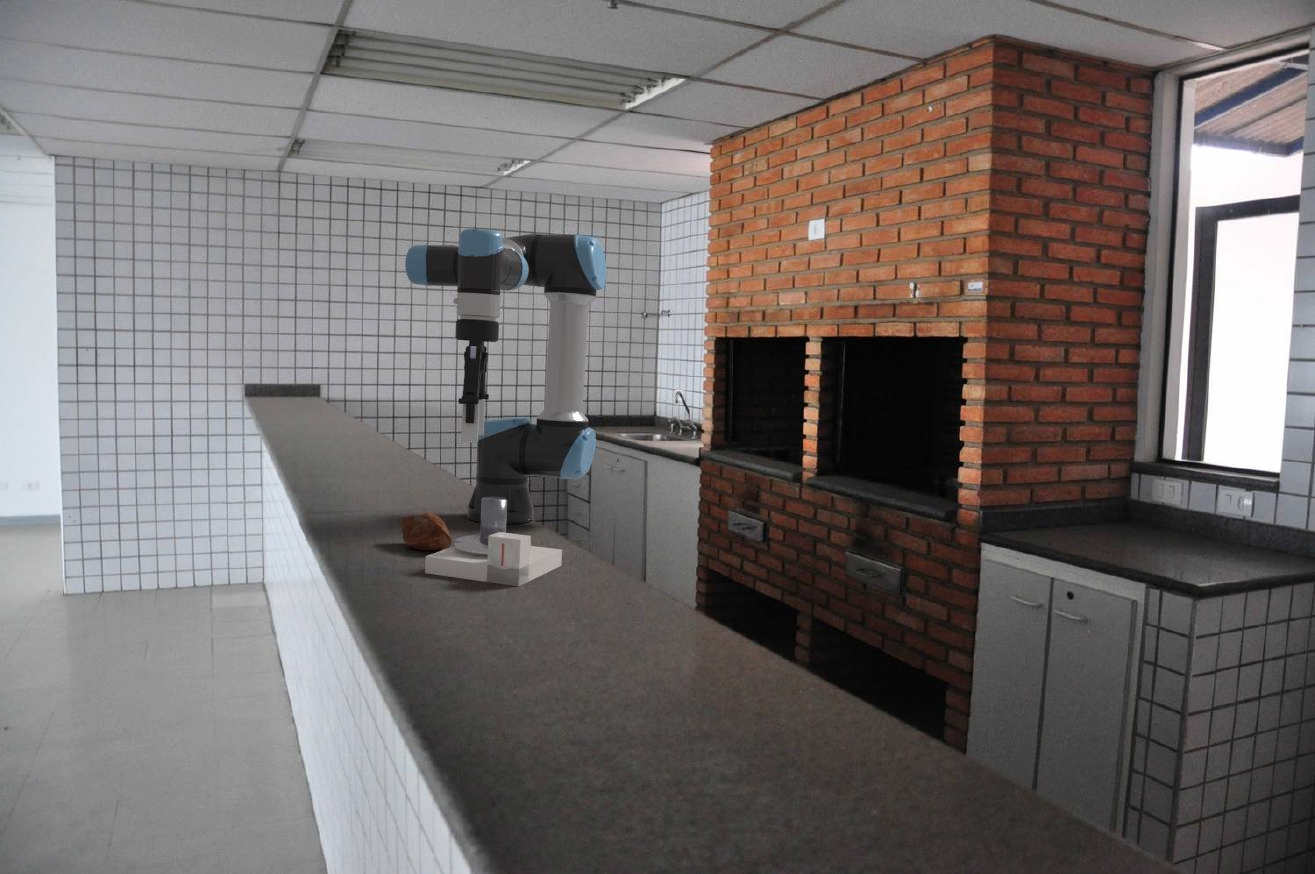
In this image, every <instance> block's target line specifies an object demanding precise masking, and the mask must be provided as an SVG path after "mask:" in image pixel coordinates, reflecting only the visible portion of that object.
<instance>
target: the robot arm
mask: <svg viewBox="0 0 1315 874" xmlns="http://www.w3.org/2000/svg"><path fill="white" fill-rule="evenodd" d="M405 255H406V256H405V260H404V261H405V265H404V266H405V272H406V277H407V278H408V280H409V281H410V282H411V283H412V284H413V285H421V286H425V287H429V286H431V287H432V286H434V287H457V289H456V291H457V292H456V293H457V295H456V296H457V297H455V298H453V301H452V302H453V304H454V305H456V316H459V319H458V318H457V319H456V320H455V339H456V340H457V341H468V345H467V346H465V347H466V348H465V351H464V352H463V353H464V354H463V360H464V365H463V369H464V370H463V372H464V374H463V386H462V395H461V398H460V397H459V398H458V404H459V405H462V415H461V416H462V417H461V437H460V438H461V439H460V440H461V441H460V442H461V443H467V444H468V443H471V444H476V479H475V480H476V481H475V486H474V488H473V489H474V490H473V491H472V495H471V497H470V500H469V503H468V505H467V511H466V517H467V519H468V520H470V521H474V522H478V523H481V504H482V498H484V497H503V498H507V520H506V525H509V524H511V525H513V524H522V523H523V524H524V523H529V522H530V521H529V520H528V519H530V520H532V521H533V520H534V519H535V518H534V516H535V509H534V505H533V502H532V498H531V494H530V490H529V486H528V481H529V480H528V479H529V478H528V476H530V477H531V476H533V477H534V476H535V477H542V478H543V477H544V478H556V479H561V480H569V479H570V480H578V479H581V478H583V477H585V476H586V475H587V473H588V471H589V470H590V468H591V466H592V463H593V460H594V457H595V451H596V446H597V439H596V436H597V434H596V431H595V430H594V429H593V428H591V427H589V419H588V417H586V415H585V414H584V412H583V406H584V390H585V387H584V386H585V371H586V370H585V369H586V356H587V355H586V353H587V340H588V339H587V336H588V323H589V322H588V320H589V306H590V304H591V303H593V302H594V300H596V299H597V291H600V290H602V289H604V288H605V285H606V281H607V264H606V263H607V262H606V258H605V257H606V256H605V252H604V249H603V246H602V244H601V243H600V241H599V240H598V239H597V238H595V237H594V236H587V235H583V234H582V235H580V234H543V233H542V234H541V233H530V234H522V235H516V236H510V237H509V236H508V237H503V235H502V233H501V232H499V231H496V230H492V229H491V230H490V229H482V228H481V229H479V228H467V229H464V230H462V231H461V232H460V234H459V241H458V244H443V245H441V244H440V245H436V244H435V245H433V244H427V243H426V244H414V245H412V246H411V247H409V249H408V250H407V252H406V254H405ZM523 286H528V287H537V288H538V287H539V288H543V295H544V297H545V298H546V299H547V300H548V301H549V318H548V319H549V320H548V333H547V334H548V337H547V352H546V353H547V354H546V367H545V368H546V370H545V386H544V403H543V410H542V412H540V414H538V415H537V416H536V423H532V421H531V418H530V417H528V416H522V417H521V416H518V417H504V418H495V419H486V420H485V411H486V410H485V409H486V406H485V405H486V400H489V398H490V394H489V393H487V390H486V389H487V387H486V384H487V383H486V381H487V379H486V378H487V376H486V374H487V369H488V361H489V360H488V359H489V352H488V351H487V350H488V348H487V346H485V342H486V343H496V342H498V341H499V334H500V333H499V332H500V323H499V322H498V321H497V319H499V318H500V315H501V297H502V296H501V291H512V290H513V291H514V290H517V289H519V288H521V287H523Z"/></svg>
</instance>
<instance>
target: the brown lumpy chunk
mask: <svg viewBox="0 0 1315 874" xmlns="http://www.w3.org/2000/svg"><path fill="white" fill-rule="evenodd" d="M399 523H400V524H401V530H402V539H403V540H402V541H403V542H404V543H405V545H407V546H409V547H412V548H414V549H417V550H421V551H427V552H428V551H429V552H432V551H438V550H439V551H441V550H445V549H448V548H451V545H452V544H453V543H452V537H451V533H450V531H449V529H448V525H446V523H445V522H444V521H443V520H442V519H441V517H439V516H438V515H437V514H434V513H432V512H426V513H424V514H418V515H407V516H406V515H405V516H402V517H401V519H400V521H399Z"/></svg>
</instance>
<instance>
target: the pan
mask: <svg viewBox="0 0 1315 874" xmlns="http://www.w3.org/2000/svg"><path fill="white" fill-rule="evenodd" d="M452 544H453V546H452V547H454V548H455V549H457V550H459V551H462V552H466V553H472V554H481V555H488V545H486V544H482V543H480V534H473V535H471V534H470V535H465V536H461V537H458V538H456V539H454V540H453V543H452ZM531 546H532V541H531V542H530V549H531Z"/></svg>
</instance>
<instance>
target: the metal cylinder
mask: <svg viewBox="0 0 1315 874" xmlns="http://www.w3.org/2000/svg"><path fill="white" fill-rule="evenodd" d="M506 520H507V498H503V497H484V498H482V504H481V522H480V533H479V535H480V543H482V544H486V545H488V536H490V535H492V534H495V533H498V532H503V533H507V524H506Z"/></svg>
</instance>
